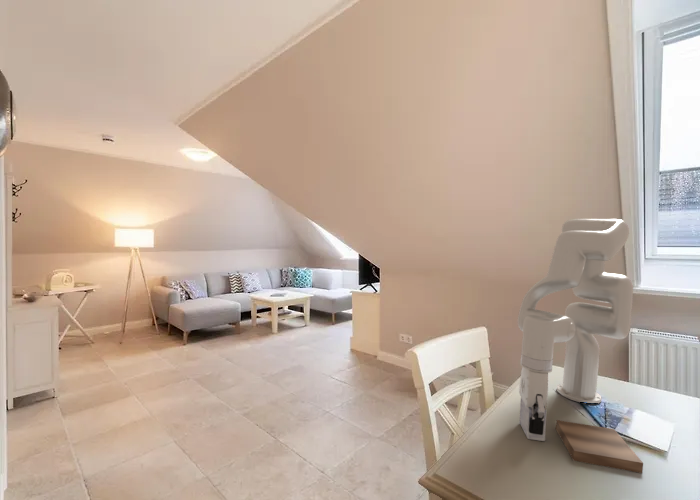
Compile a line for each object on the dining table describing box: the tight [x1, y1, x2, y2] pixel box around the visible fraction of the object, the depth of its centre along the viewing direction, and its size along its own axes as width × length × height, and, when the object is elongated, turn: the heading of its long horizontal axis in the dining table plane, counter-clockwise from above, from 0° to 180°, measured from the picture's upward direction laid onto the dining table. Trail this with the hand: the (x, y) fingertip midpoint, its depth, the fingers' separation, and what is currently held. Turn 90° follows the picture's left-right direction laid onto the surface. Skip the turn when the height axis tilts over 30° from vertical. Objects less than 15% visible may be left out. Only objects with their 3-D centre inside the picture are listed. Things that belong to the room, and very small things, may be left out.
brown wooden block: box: [555, 419, 644, 474], centre depth 88 cm, size 14×14×2 cm
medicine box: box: [518, 397, 548, 442], centre depth 94 cm, size 8×4×9 cm, turn 168°
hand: (531, 424), depth 94 cm, fingers closed on medicine box, 8 cm apart
